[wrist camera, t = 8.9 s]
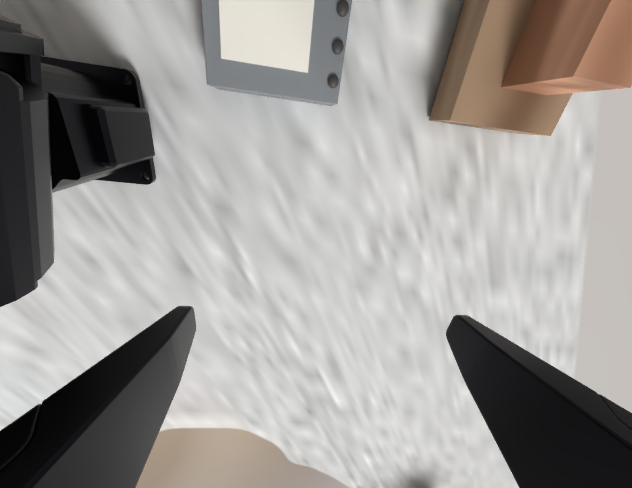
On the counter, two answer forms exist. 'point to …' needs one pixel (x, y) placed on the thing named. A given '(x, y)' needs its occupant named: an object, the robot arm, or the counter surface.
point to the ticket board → (276, 47)
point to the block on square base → (531, 61)
